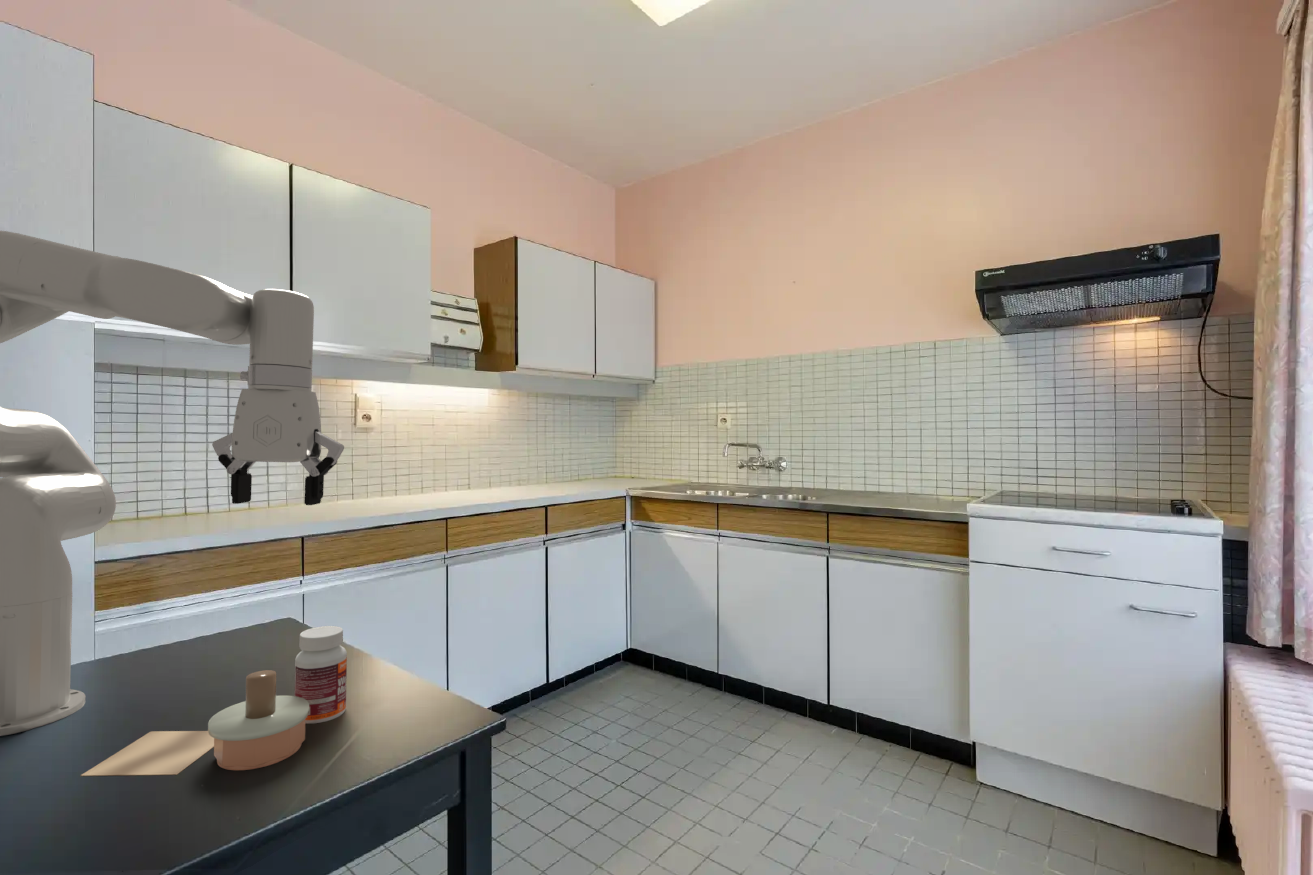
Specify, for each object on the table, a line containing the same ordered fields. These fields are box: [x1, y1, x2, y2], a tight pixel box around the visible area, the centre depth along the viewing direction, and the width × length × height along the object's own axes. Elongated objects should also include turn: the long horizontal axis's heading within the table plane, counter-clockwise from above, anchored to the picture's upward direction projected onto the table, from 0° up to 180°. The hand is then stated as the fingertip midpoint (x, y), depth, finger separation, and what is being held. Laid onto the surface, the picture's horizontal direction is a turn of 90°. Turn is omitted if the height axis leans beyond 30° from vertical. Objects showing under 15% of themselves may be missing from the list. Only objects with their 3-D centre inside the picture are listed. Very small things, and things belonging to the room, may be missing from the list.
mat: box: [80, 730, 214, 777], centre depth 72 cm, size 10×10×1 cm
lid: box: [207, 669, 309, 741], centre depth 73 cm, size 10×10×5 cm
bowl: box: [213, 719, 306, 771], centre depth 73 cm, size 8×8×4 cm
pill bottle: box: [293, 625, 348, 724], centre depth 83 cm, size 6×6×11 cm
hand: (277, 503), depth 86 cm, fingers open, 9 cm apart
